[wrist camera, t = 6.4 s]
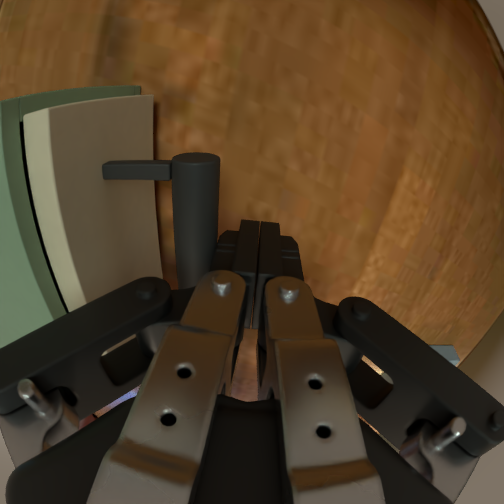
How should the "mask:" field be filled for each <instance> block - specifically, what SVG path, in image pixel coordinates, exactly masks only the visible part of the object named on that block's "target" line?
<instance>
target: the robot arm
mask: <svg viewBox="0 0 504 504" xmlns="http://www.w3.org/2000/svg"><path fill="white" fill-rule="evenodd" d="M259 223H260V221H252V220H241V224H240V229H239V231H230V230H227V231H225V232H224V233H223V234H222V235H220V237H219V240H218V243H217V246H216V249H215V253H214V256H213V259H212V262H211V265H210V269H209V272H208V273H206V274H204V275H203V276H202V277H201V278H200V279H199V281H198V283H197V285H196V286H194V287H191V288H187V289H178V290H171V288H170V285H169V284H168V283H167V282H166V281H165V280H163V279H161V278H158V277H142V278H139V279H136V280H134V281H132V282H130V283H128V284H126V285H124V286H122V287H119V288H117V289H115V290H113V291H111V292H109V293H107V294H105V295H103V296H101V297H99V298H97V299H95V300H93V301H91V302H89V303H87V304H85V305H83V306H81V307H79V308H77V309H75V310H73V311H71V312H69V313H67V314H65V315H63V316H61V317H59V318H57V319H55V320H53V321H52V322H50V323H48V324H46V325H44V326H42V327H40V328H38V329H36V330H34V331H32V332H30V333H28V334H27V335H25V336H23V337H21V338H19V339H17V340H15V341H13V342H12V343H10V344H8V345H6V346H4V347H2V348H0V429H1V432H2V435H3V438H4V441H5V444H6V446H7V449H8V451H9V454H10V456H11V459H12V461H13V463H14V466H15V468H16V469H15V470H14V471H13V472H12V474H11V475H10V477H9V479H8V482H7V485H6V503H7V504H454V503H455V501H456V500H457V498H458V497H459V495H460V493H461V492H462V490H463V488H464V487H465V485H466V483H467V481H468V479H469V478H470V476H471V474H472V472H473V470H474V468H475V466H476V464H477V462H478V460H479V458H480V457H481V456H482V455H483V454H484V453H486V452H488V451H489V450H491V449H492V448H494V447H495V446H496V445H498V444H499V443H501V442H502V441H503V440H504V406H503V405H502V404H501V403H499V402H498V401H497V400H496V399H495V398H493V397H492V396H491V395H490V394H489V393H487V392H486V391H485V390H484V389H483V388H481V387H480V386H479V385H478V384H477V383H475V382H474V381H473V380H472V379H471V378H469V377H468V376H467V375H466V374H464V373H463V372H462V371H461V370H459V369H458V368H457V367H456V366H454V365H453V364H452V363H451V362H449V361H448V360H447V359H446V358H444V357H443V356H442V355H441V354H439V353H438V352H437V351H436V350H434V349H433V348H432V347H430V346H429V345H428V344H427V343H425V342H424V341H423V340H421V339H420V338H419V337H418V336H416V335H415V334H414V333H412V332H411V331H410V330H408V329H407V328H406V327H404V326H403V325H402V324H400V323H399V322H398V321H397V320H395V319H394V318H393V317H391V316H390V315H389V314H387V313H386V312H385V311H383V310H382V309H381V308H379V307H378V306H376V305H375V304H374V303H372V302H371V301H369V300H367V299H364V298H361V297H347V298H345V299H343V300H342V301H341V302H340V303H339V305H338V306H336V305H333V304H330V303H326V302H323V301H321V300H319V299H317V298H315V297H314V296H313V294H312V291H311V288H310V287H309V286H308V285H307V284H306V283H305V282H304V278H303V272H302V266H301V260H300V254H299V248H298V244H297V242H296V241H295V240H294V239H293V238H292V237H291V236H281V235H280V225H279V223H273V222H263V221H261V226H260V235H259ZM258 238H259V244H258ZM254 288H255V289H254ZM253 297H254V304H253ZM252 306H253V318H252V329H258V338H257V345H256V359H257V382H258V401H253V402H245V401H241V400H238V399H235V398H232V397H230V395H231V390H232V385H233V380H234V375H235V370H236V366H237V361H238V356H239V351H240V345H241V342H242V340H243V335H244V328H248V329H250V323H251V314H252ZM134 334H135V335H136V337H135V338H133V339H131V340H130V341H128V342H126V343H124V344H123V345H121V346H119V347H117V348H116V349H114V350H112V351H110V352H109V353H107V354H105V355H103V356H102V354H103V353H104V352H105V351H106V350H108V349H109V348H111V347H113V346H115V345H116V344H118V343H120V342H122V341H123V340H125V339H127V338H129V337H130V336H132V335H134ZM363 355H365V356H366V357H367V358H368V359H369V360H371V361H372V362H373V363H374V364H375V365H376V366H378V367H379V368H380V369H381V370H382V371H384V372H385V373H386V374H387V375H388V376H389V377H390V378H391V379H392V381H393V384H391V383H389V382H388V381H386V380H385V379H384V378H383V377H382V376H380V375H379V374H378V373H377V372H376V371H375V370H373V369H372V368H371V367H370V366H369V365H368V364H366V363H365V362H364V361H363V360H362V359H361V358H362V357H363ZM140 384H141V386H140V388H139V391H138V393H137V395H136V396H135V397H132V398H130V399H128V400H126V401H124V402H122V403H120V404H119V405H117V406H116V407H114V408H113V409H111V410H110V411H108V412H107V413H105V414H103V415H102V416H100V417H99V418H97V419H96V420H94V421H93V422H91V423H89V424H88V425H86V426H85V427H83V428H82V429H80V430H79V426H80V421H81V420H83V419H84V418H86V417H88V416H90V415H91V414H93V413H95V412H96V411H98V410H100V409H101V408H103V407H105V406H106V405H108V404H110V403H111V402H113V401H115V400H116V399H118V398H120V397H121V396H123V395H124V394H126V393H128V392H129V391H131V390H133V389H134V388H136V387H137V386H139V385H140ZM357 413H358V414H359V415H360V416H361V417H363V418H364V419H365V420H366V421H367V422H368V423H369V424H370V425H371V426H373V427H374V428H375V429H376V430H377V431H378V432H379V433H380V434H382V435H383V436H384V437H385V438H386V439H387V440H388V441H390V442H391V443H392V444H393V445H394V446H395V447H396V448H398V449H399V450H400V451H399V454H398V453H397V452H396V451H395V450H394V449H393V448H392V447H391V446H390V445H389V444H388V443H386V441H384V440H383V439H382V438H381V437H380V436H379V435H378V434H377V433H376V432H375V431H374V430H373V429H372V428H371V427H370V426H369V425H368V424H367V423H365V422H364V421H363V420H361V419H360V418H359V417H358V415H357Z"/></svg>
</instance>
